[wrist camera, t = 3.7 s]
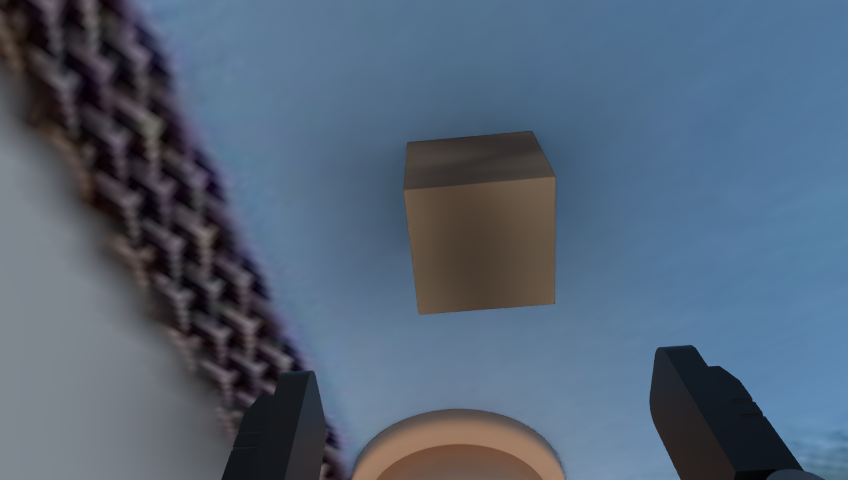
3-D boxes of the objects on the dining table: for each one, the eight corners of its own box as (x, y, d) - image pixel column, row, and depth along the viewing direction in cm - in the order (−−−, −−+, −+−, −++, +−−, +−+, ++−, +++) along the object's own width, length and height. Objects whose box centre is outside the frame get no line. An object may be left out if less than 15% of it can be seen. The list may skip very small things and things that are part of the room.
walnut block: (531, 130, 24) (555, 176, 19) (532, 240, 26) (554, 303, 22) (407, 141, 24) (403, 190, 20) (419, 249, 26) (418, 314, 22)
